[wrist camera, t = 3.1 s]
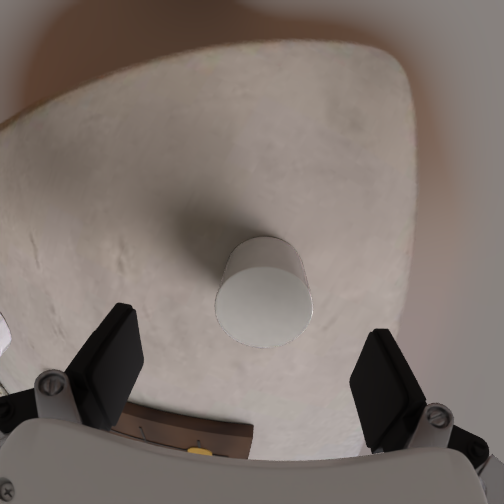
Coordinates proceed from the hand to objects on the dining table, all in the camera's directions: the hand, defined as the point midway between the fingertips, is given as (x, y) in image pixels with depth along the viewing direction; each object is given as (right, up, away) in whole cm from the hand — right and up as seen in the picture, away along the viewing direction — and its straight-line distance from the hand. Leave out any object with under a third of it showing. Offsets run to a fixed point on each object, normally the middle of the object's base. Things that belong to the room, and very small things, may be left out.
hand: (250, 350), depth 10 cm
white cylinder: (+1, +3, +6) cm, 7 cm away
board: (-12, -21, +16) cm, 29 cm away
